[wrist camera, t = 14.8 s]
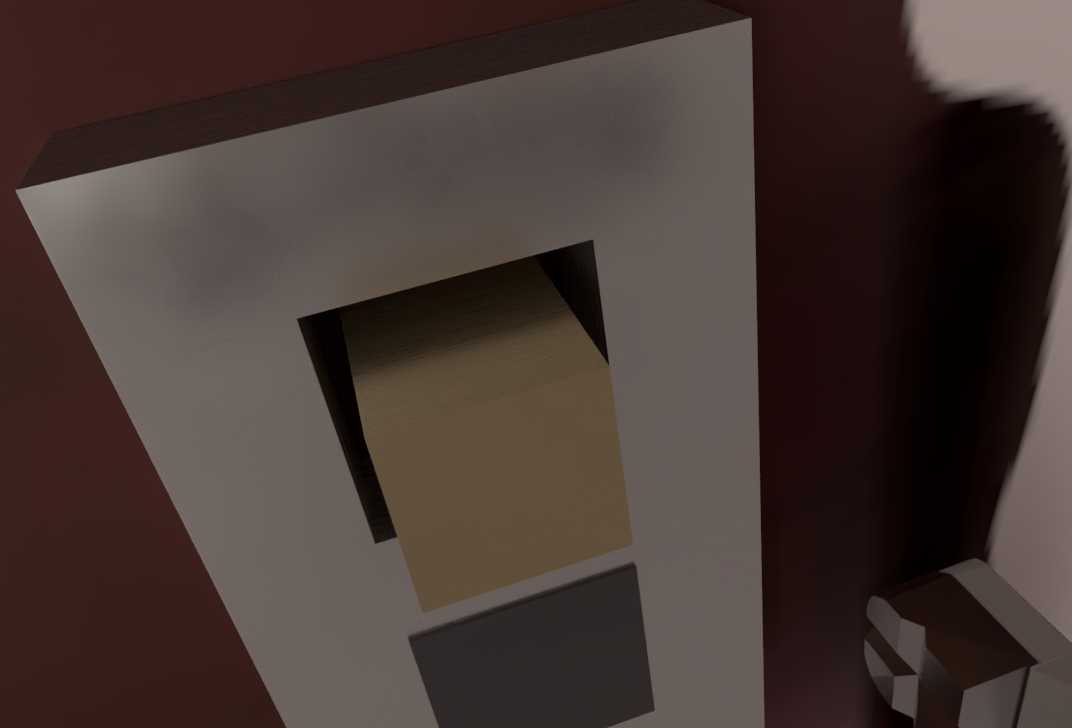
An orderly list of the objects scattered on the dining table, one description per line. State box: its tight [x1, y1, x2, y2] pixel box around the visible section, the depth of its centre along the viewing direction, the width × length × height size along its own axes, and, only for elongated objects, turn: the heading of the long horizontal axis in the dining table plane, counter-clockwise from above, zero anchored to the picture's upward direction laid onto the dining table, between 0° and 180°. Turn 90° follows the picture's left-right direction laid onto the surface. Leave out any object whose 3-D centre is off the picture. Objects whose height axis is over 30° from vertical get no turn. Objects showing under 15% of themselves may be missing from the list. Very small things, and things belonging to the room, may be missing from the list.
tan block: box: [338, 255, 633, 613], centre depth 17 cm, size 4×4×6 cm
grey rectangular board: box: [15, 0, 764, 728], centre depth 21 cm, size 12×20×3 cm, turn 9°
